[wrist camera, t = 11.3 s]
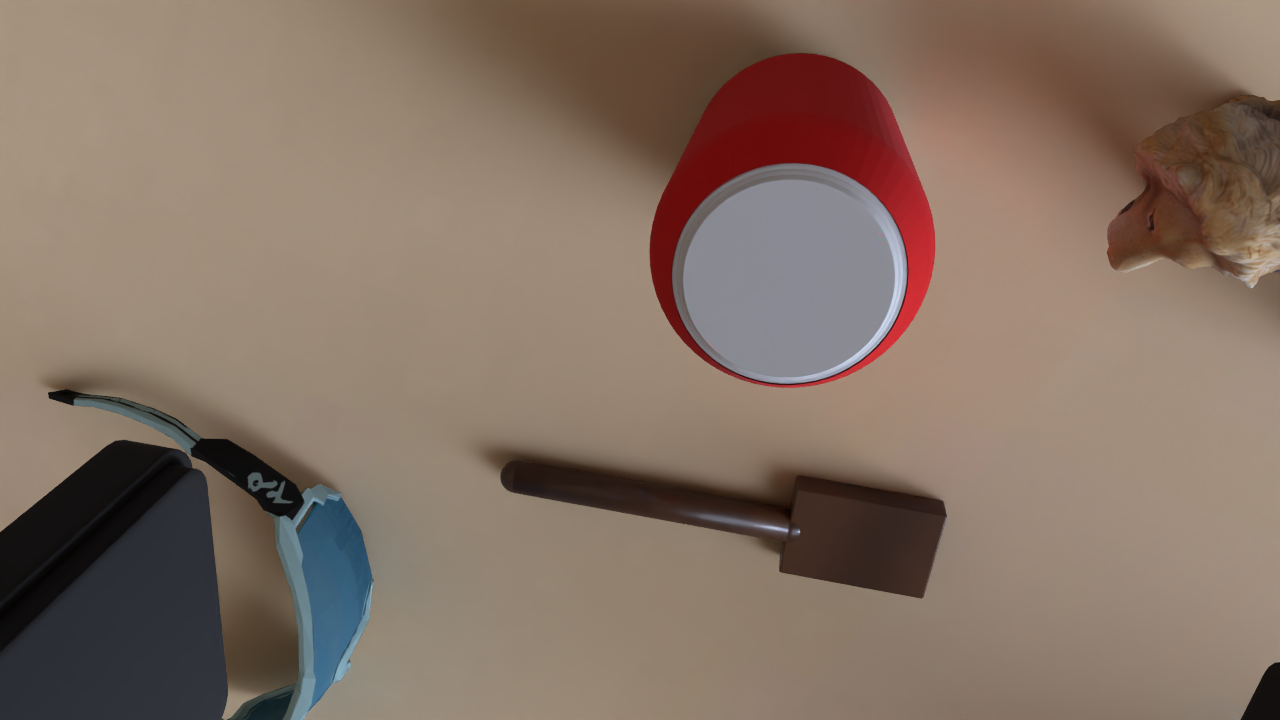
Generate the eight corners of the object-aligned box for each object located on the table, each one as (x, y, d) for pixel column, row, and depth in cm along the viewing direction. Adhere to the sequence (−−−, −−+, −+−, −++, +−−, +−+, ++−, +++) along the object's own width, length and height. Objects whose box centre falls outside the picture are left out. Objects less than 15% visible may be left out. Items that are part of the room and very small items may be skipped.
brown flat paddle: (502, 505, 38) (493, 523, 37) (508, 423, 37) (499, 439, 36) (920, 582, 37) (924, 603, 36) (944, 500, 35) (948, 519, 34)
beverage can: (655, 155, 32) (577, 285, 21) (796, 2, 29) (789, 60, 19) (793, 283, 33) (786, 469, 22) (941, 146, 30) (1013, 280, 20)
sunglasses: (331, 744, 45) (263, 831, 40) (53, 582, 46) (-43, 648, 42) (425, 508, 39) (357, 579, 34) (102, 328, 40) (-5, 374, 36)
